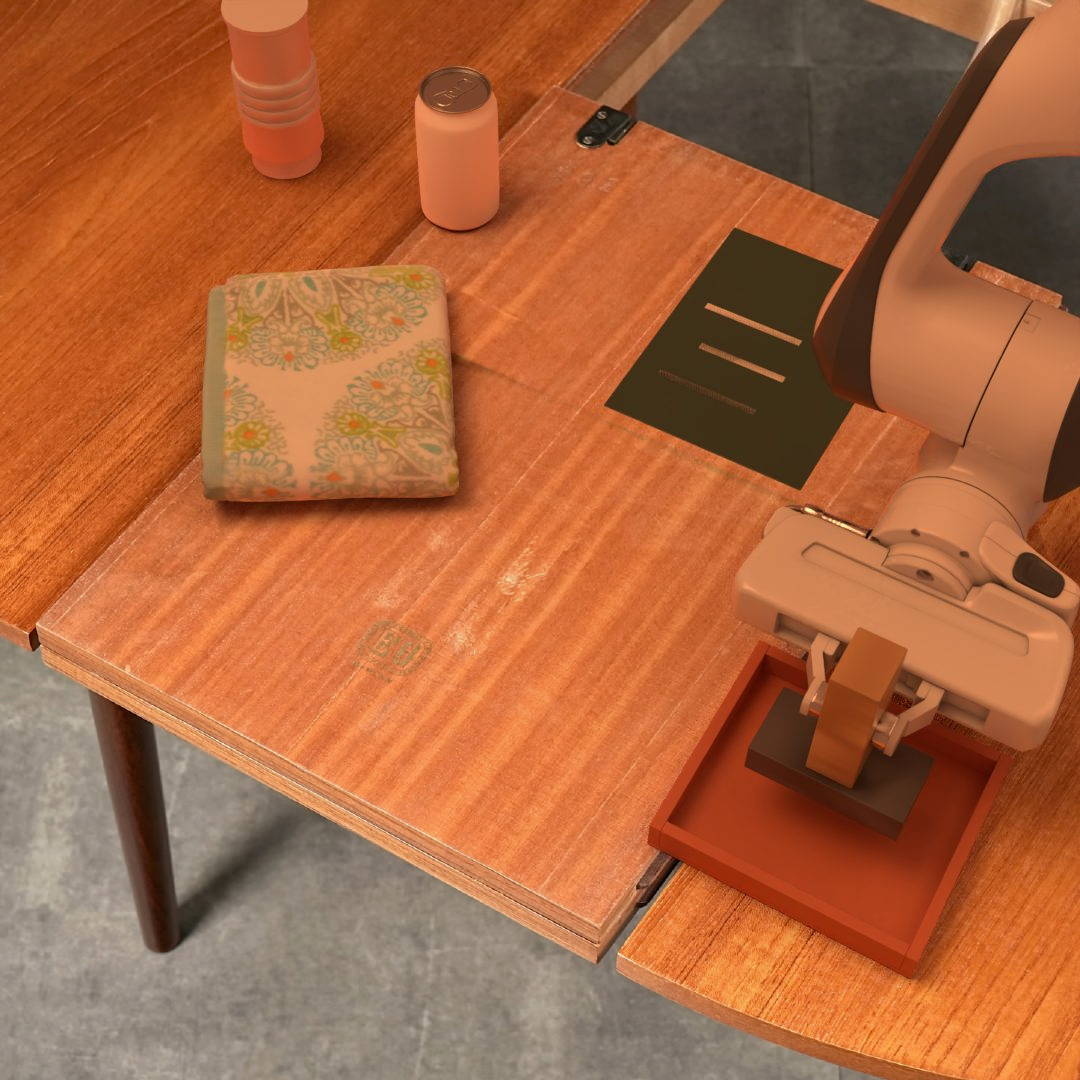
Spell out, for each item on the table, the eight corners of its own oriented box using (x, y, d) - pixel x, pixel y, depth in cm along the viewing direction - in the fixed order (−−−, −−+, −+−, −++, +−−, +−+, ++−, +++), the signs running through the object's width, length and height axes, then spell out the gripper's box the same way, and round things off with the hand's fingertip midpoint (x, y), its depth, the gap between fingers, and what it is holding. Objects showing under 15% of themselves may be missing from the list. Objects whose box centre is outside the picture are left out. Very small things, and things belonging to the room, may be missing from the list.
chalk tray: (1005, 776, 108) (1013, 757, 106) (910, 979, 100) (918, 962, 98) (755, 660, 114) (759, 639, 111) (646, 843, 105) (649, 825, 103)
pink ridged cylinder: (300, 117, 146) (280, -33, 134) (342, 162, 143) (325, 11, 131) (230, 148, 144) (203, -3, 132) (271, 194, 140) (247, 44, 128)
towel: (449, 295, 134) (446, 247, 129) (461, 508, 121) (458, 463, 117) (217, 306, 133) (206, 259, 129) (204, 522, 120) (192, 477, 116)
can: (404, 209, 139) (395, 91, 130) (457, 169, 142) (451, 51, 133) (463, 245, 137) (458, 128, 127) (515, 203, 140) (514, 85, 130)
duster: (928, 777, 103) (971, 669, 93) (895, 842, 100) (936, 738, 90) (779, 705, 106) (805, 593, 96) (743, 766, 103) (767, 657, 93)
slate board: (916, 309, 133) (919, 298, 132) (798, 501, 122) (800, 490, 121) (732, 237, 138) (734, 226, 137) (602, 415, 126) (602, 405, 125)
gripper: (791, 462, 105) (689, 623, 98) (1109, 600, 99) (1025, 782, 92) (778, 523, 110) (681, 680, 103) (1080, 658, 104) (999, 835, 97)
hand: (846, 730), depth 97 cm, fingers closed on duster, 3 cm apart
